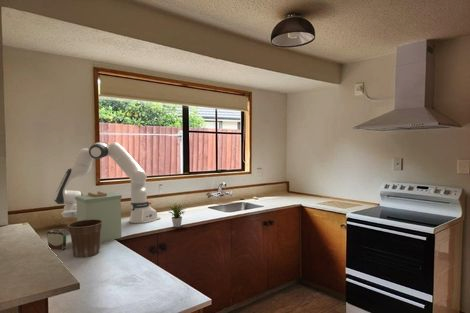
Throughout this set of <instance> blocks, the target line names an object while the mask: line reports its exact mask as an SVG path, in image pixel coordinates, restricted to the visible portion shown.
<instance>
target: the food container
mask: <svg viewBox="0 0 470 313" xmlns="http://www.w3.org/2000/svg"><path fill="white" fill-rule="evenodd" d="M68 232H69V231H68V229H66V228H53V229H49V230H46V231H45V235H46V238H47V247H48V246H49V247H50V248H51V249H52V250H53V251H64V250H66V247H67V237H68V234H69V233H68ZM51 249H50V250H51Z"/></svg>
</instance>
